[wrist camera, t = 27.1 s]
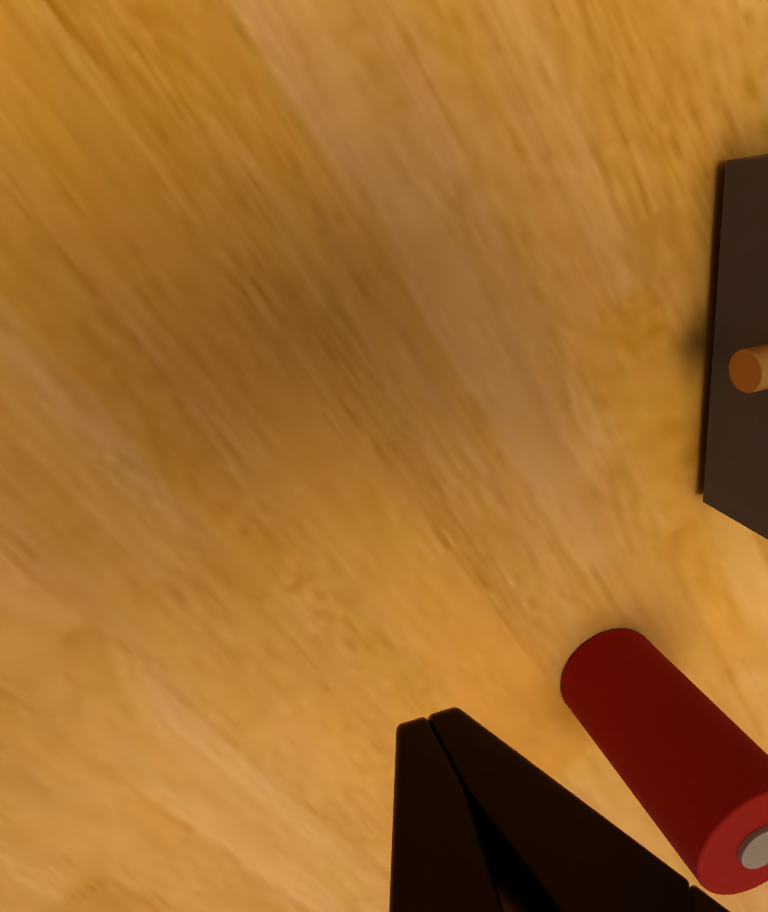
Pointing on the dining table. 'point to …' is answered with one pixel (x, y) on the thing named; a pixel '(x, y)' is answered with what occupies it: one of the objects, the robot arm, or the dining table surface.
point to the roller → (675, 757)
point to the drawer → (741, 352)
